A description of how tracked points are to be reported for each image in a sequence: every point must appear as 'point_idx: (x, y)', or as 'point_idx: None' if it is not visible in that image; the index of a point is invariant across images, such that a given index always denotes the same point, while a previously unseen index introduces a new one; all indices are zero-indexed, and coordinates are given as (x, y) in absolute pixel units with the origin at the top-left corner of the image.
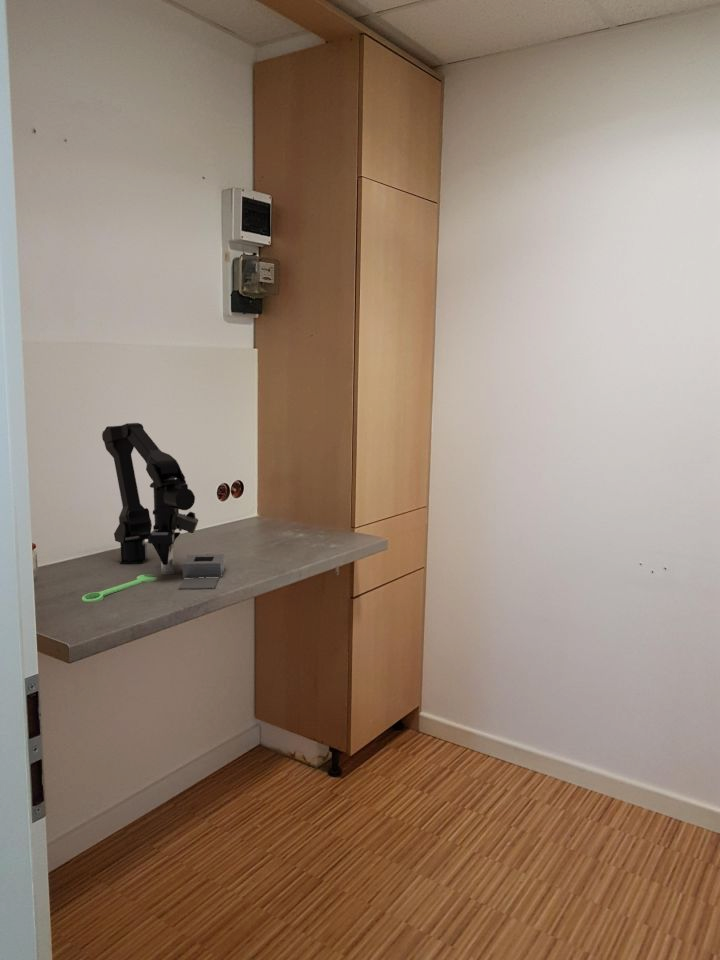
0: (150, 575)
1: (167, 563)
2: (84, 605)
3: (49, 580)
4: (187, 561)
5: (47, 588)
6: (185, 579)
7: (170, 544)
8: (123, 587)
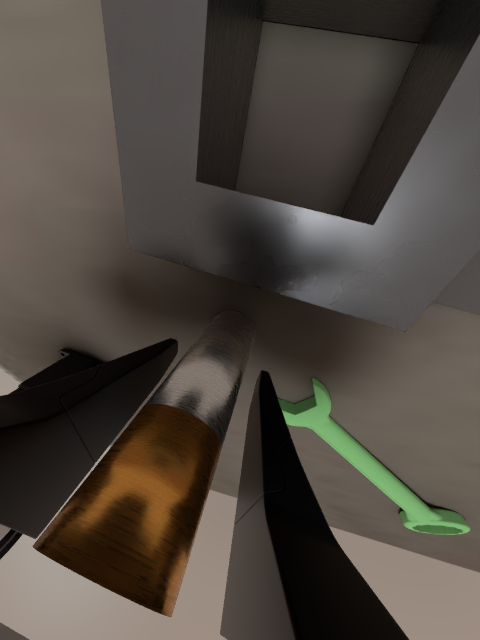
0: None
1: (268, 374)
2: (476, 538)
3: (228, 492)
4: (341, 280)
5: None
6: None
7: (376, 606)
8: (382, 469)
